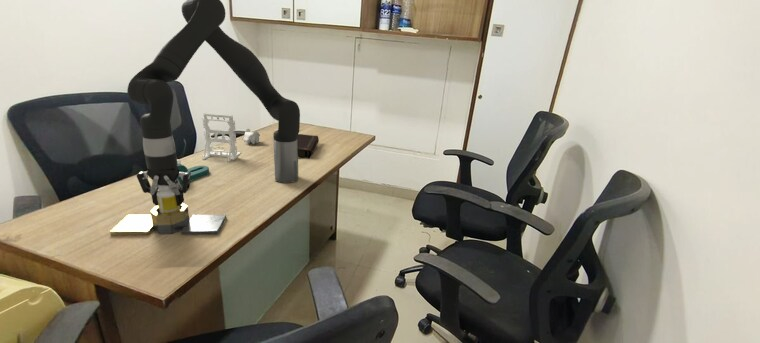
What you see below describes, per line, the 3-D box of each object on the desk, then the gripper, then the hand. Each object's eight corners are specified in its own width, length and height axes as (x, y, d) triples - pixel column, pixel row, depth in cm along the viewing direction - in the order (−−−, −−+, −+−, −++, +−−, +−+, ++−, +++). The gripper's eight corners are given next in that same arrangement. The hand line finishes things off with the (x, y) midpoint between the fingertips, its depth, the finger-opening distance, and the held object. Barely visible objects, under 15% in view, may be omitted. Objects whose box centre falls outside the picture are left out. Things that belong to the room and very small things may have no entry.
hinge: (226, 218, 116) (224, 201, 113) (217, 234, 107) (215, 216, 104) (128, 217, 111) (125, 200, 109) (110, 235, 102) (106, 216, 100)
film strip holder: (243, 152, 174) (240, 112, 166) (231, 162, 161) (228, 118, 154) (214, 150, 174) (210, 109, 167) (200, 159, 161) (194, 116, 154)
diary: (318, 143, 197) (319, 135, 195) (311, 159, 174) (311, 149, 172) (284, 141, 196) (284, 132, 194) (273, 156, 173) (272, 147, 171)
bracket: (173, 187, 134) (170, 168, 131) (161, 183, 136) (158, 164, 133) (212, 172, 149) (211, 155, 146) (201, 169, 151) (199, 151, 148)
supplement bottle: (184, 211, 109) (180, 182, 105) (169, 219, 104) (164, 189, 101) (171, 207, 111) (166, 178, 107) (155, 215, 106) (150, 185, 102)
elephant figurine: (239, 143, 186) (238, 130, 184) (254, 139, 194) (253, 127, 191) (248, 146, 182) (247, 133, 180) (263, 143, 190) (263, 130, 187)
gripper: (192, 147, 105) (198, 199, 111) (139, 146, 102) (148, 198, 109) (182, 156, 98) (190, 210, 104) (125, 154, 96) (136, 210, 102)
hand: (169, 204), depth 106 cm, fingers closed on supplement bottle, 5 cm apart
